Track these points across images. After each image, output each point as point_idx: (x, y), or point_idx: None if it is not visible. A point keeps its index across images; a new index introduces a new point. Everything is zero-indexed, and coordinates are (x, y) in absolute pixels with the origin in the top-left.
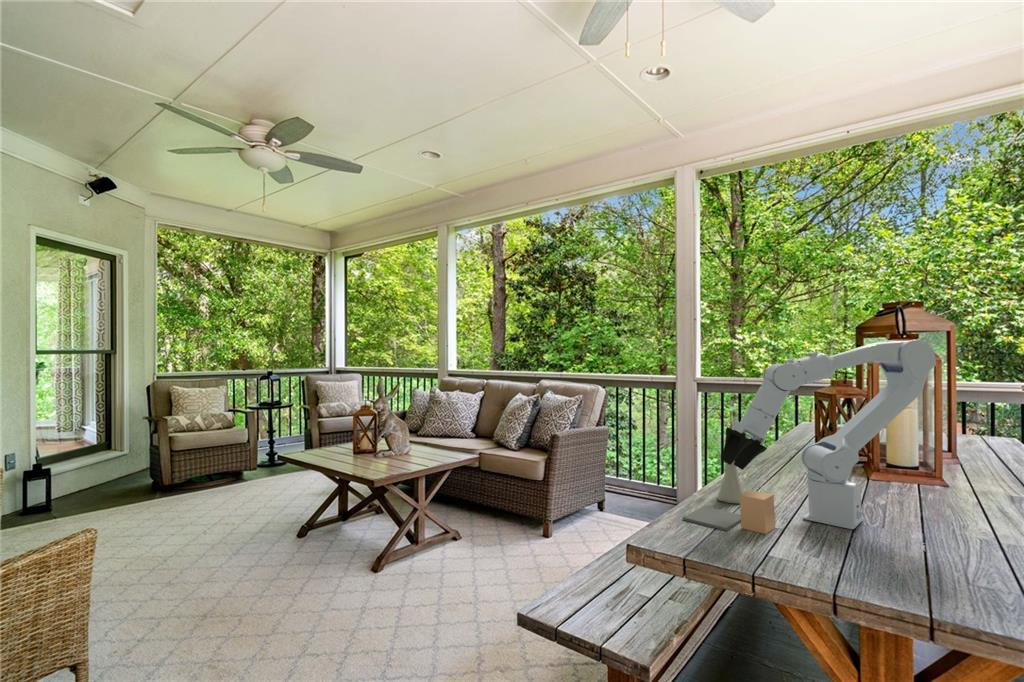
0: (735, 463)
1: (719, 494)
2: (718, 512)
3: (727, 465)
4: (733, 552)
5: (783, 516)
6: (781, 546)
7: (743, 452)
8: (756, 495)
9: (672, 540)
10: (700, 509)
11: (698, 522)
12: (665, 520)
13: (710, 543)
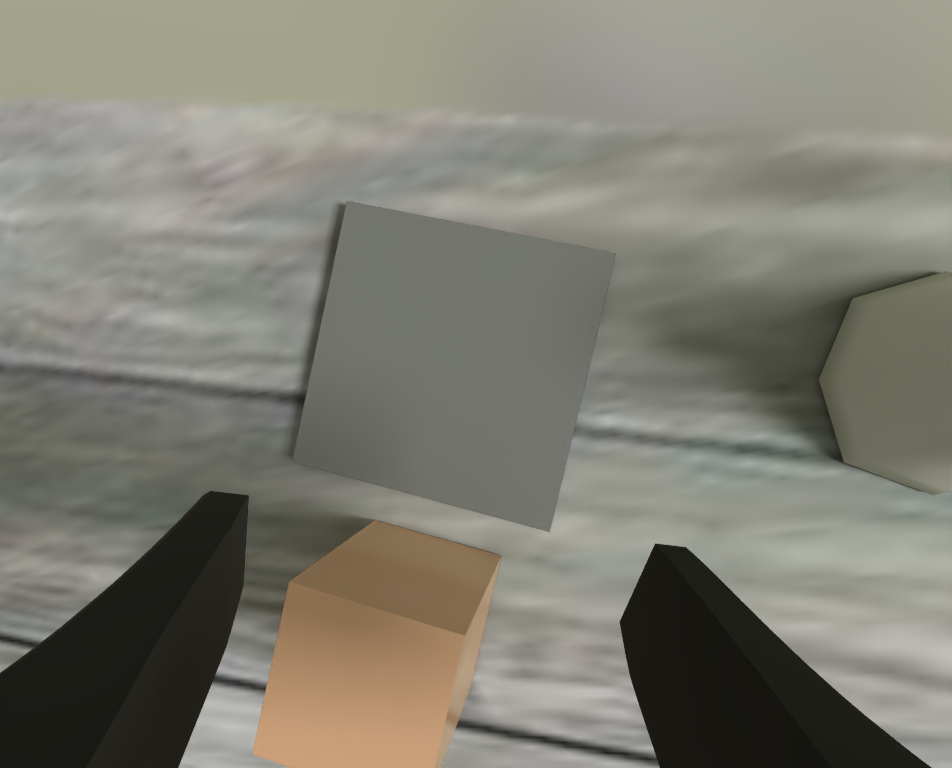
0: (662, 569)
1: (897, 298)
2: (532, 368)
3: None
4: (67, 529)
5: None
6: (228, 715)
7: (743, 761)
8: (336, 697)
9: (64, 256)
10: (538, 253)
11: (328, 301)
12: (299, 124)
13: (112, 420)
